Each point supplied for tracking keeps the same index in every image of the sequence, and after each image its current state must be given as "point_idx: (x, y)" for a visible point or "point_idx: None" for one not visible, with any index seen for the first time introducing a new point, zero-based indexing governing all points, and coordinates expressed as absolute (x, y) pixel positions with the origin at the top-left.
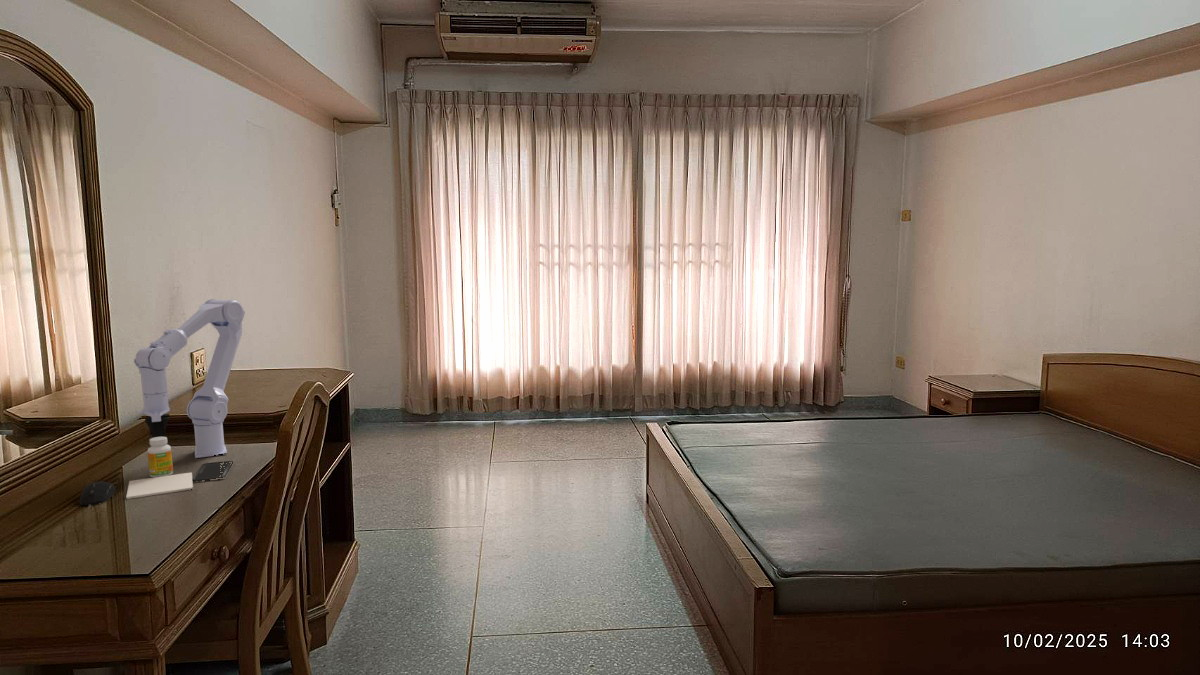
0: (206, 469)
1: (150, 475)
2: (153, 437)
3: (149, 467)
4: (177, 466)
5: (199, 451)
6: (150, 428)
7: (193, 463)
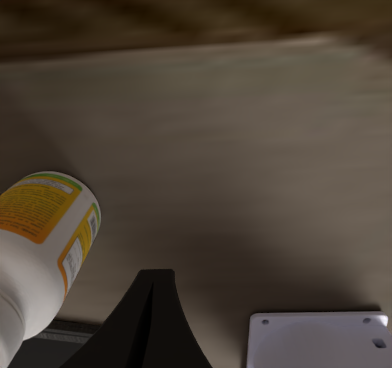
0: (39, 345)
1: (27, 176)
2: (123, 298)
3: (9, 190)
4: (168, 259)
5: (278, 340)
6: (69, 360)
7: (184, 305)
